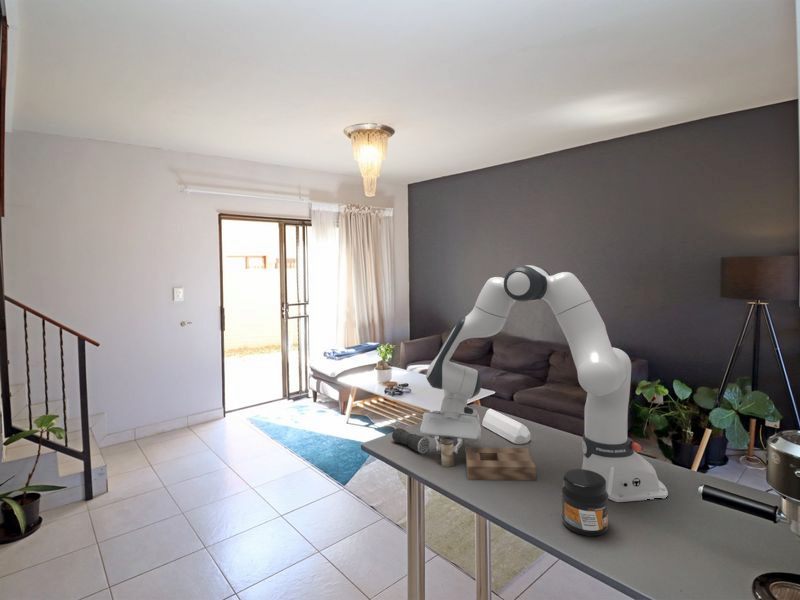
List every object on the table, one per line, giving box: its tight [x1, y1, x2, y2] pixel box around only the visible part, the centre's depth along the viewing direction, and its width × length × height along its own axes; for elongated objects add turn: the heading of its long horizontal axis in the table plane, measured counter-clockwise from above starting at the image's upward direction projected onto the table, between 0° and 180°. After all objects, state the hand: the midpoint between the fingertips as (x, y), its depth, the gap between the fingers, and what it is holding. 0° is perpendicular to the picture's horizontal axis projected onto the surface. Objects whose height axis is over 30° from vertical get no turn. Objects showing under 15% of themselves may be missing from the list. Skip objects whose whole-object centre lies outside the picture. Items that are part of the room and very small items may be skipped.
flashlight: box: [391, 427, 431, 454], centre depth 156 cm, size 15×5×5 cm, turn 40°
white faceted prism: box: [481, 408, 531, 445], centre depth 165 cm, size 7×7×24 cm
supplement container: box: [560, 468, 609, 537], centre depth 105 cm, size 10×10×12 cm
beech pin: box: [440, 438, 455, 468], centre depth 141 cm, size 4×4×8 cm
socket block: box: [464, 446, 537, 481], centre depth 136 cm, size 20×14×4 cm
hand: (446, 451), depth 140 cm, fingers closed on beech pin, 4 cm apart
